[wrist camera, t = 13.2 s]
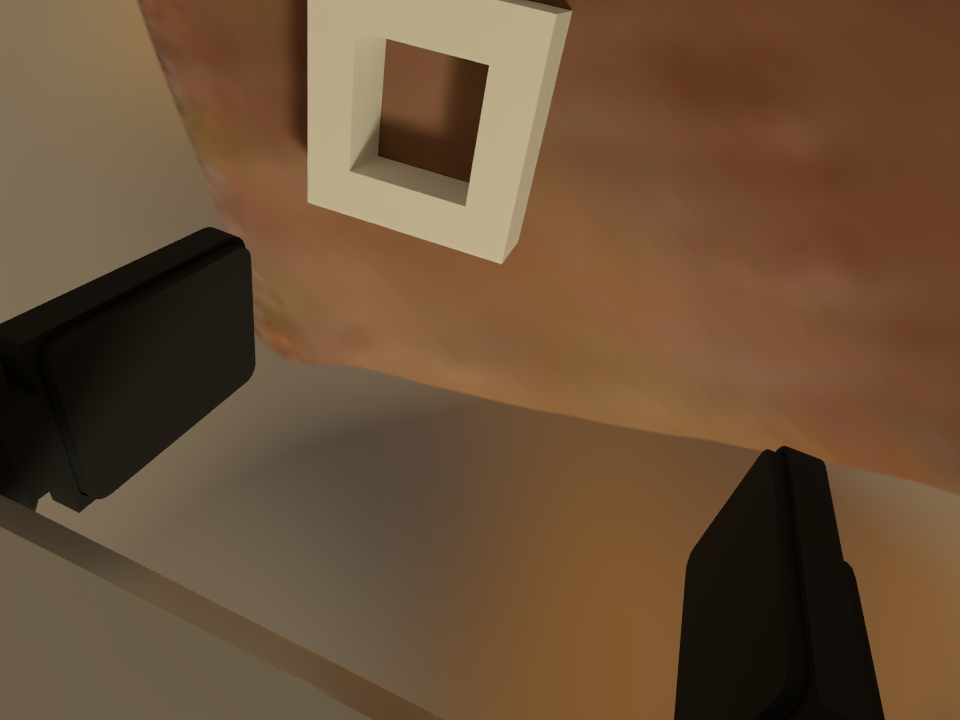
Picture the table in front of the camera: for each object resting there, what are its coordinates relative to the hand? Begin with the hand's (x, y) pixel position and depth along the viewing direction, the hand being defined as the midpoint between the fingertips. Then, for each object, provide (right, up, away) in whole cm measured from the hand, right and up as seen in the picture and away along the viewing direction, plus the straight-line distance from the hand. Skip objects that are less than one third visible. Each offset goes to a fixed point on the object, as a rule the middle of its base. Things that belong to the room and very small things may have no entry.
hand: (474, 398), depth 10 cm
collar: (-3, +17, +27) cm, 32 cm away
